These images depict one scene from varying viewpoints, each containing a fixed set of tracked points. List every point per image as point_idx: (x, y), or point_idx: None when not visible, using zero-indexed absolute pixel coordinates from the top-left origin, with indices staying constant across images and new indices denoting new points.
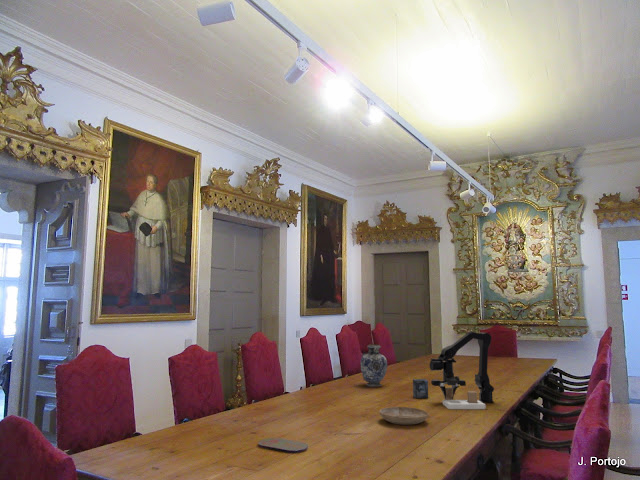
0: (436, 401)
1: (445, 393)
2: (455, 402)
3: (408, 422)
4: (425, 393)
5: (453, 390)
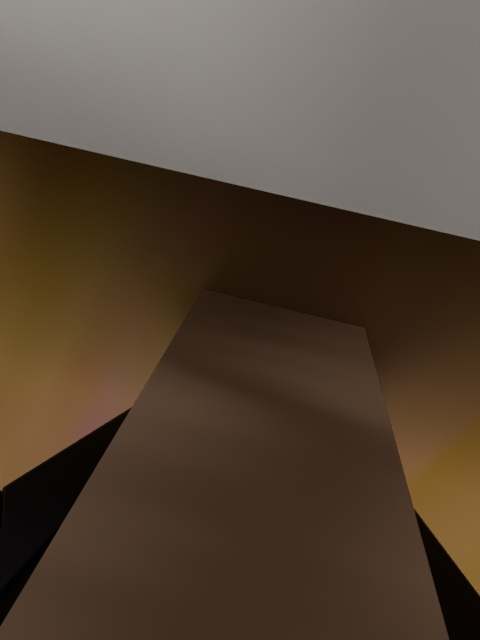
0: (459, 513)
1: None
2: None
3: None
4: None
5: (3, 588)
